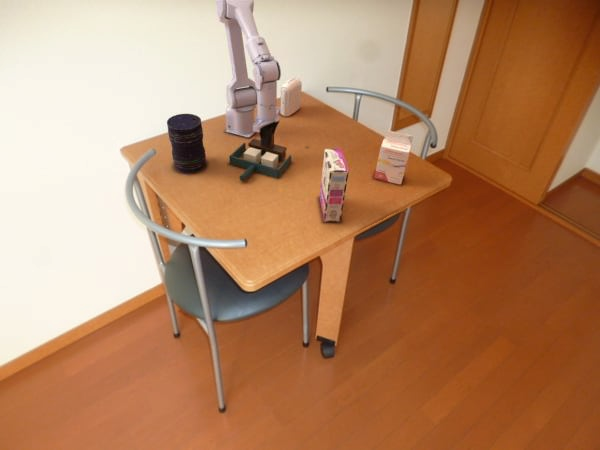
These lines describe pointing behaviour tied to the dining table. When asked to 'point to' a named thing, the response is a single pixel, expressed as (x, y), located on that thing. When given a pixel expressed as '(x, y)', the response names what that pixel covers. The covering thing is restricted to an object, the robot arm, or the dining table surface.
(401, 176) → the ink cartridge box
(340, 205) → the candy bar box
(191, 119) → the storage jar
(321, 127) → the dining table surface
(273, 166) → the cream white cube
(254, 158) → the beige cube
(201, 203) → the dining table surface
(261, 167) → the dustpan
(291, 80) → the photo printer
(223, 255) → the dining table surface
